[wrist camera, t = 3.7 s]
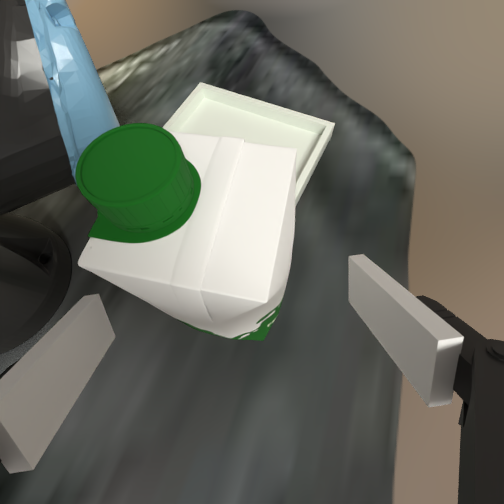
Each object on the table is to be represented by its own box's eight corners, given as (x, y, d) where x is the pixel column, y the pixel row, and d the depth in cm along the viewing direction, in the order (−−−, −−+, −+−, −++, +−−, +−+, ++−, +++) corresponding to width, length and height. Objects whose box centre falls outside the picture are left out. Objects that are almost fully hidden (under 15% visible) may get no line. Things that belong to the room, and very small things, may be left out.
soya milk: (207, 253, 30) (117, 77, 12) (287, 268, 29) (323, 97, 11) (183, 333, 27) (7, 256, 9) (272, 353, 26) (288, 314, 8)
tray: (141, 174, 35) (133, 162, 33) (203, 96, 41) (200, 82, 39) (281, 233, 31) (282, 223, 29) (331, 137, 36) (334, 123, 34)
